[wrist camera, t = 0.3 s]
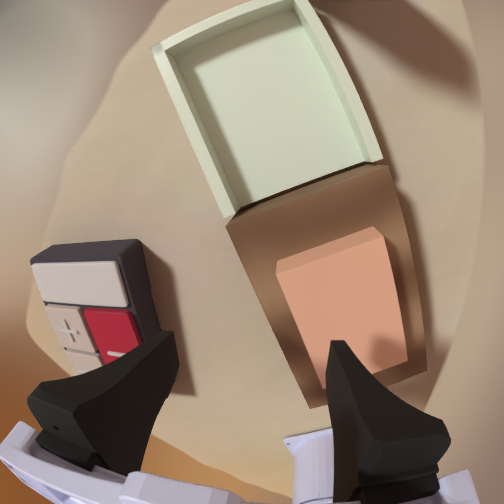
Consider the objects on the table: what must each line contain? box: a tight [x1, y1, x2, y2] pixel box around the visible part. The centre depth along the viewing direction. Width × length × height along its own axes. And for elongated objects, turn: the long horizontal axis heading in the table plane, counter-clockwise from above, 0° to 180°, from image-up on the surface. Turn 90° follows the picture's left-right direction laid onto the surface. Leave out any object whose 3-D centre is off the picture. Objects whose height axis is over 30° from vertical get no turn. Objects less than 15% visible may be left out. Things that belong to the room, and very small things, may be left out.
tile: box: [276, 226, 408, 389], centre depth 17 cm, size 9×6×2 cm, turn 23°
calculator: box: [30, 239, 175, 398], centre depth 24 cm, size 11×4×15 cm
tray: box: [150, 0, 383, 218], centre depth 17 cm, size 13×11×2 cm
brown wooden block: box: [225, 163, 427, 409], centre depth 20 cm, size 16×10×4 cm, turn 23°
